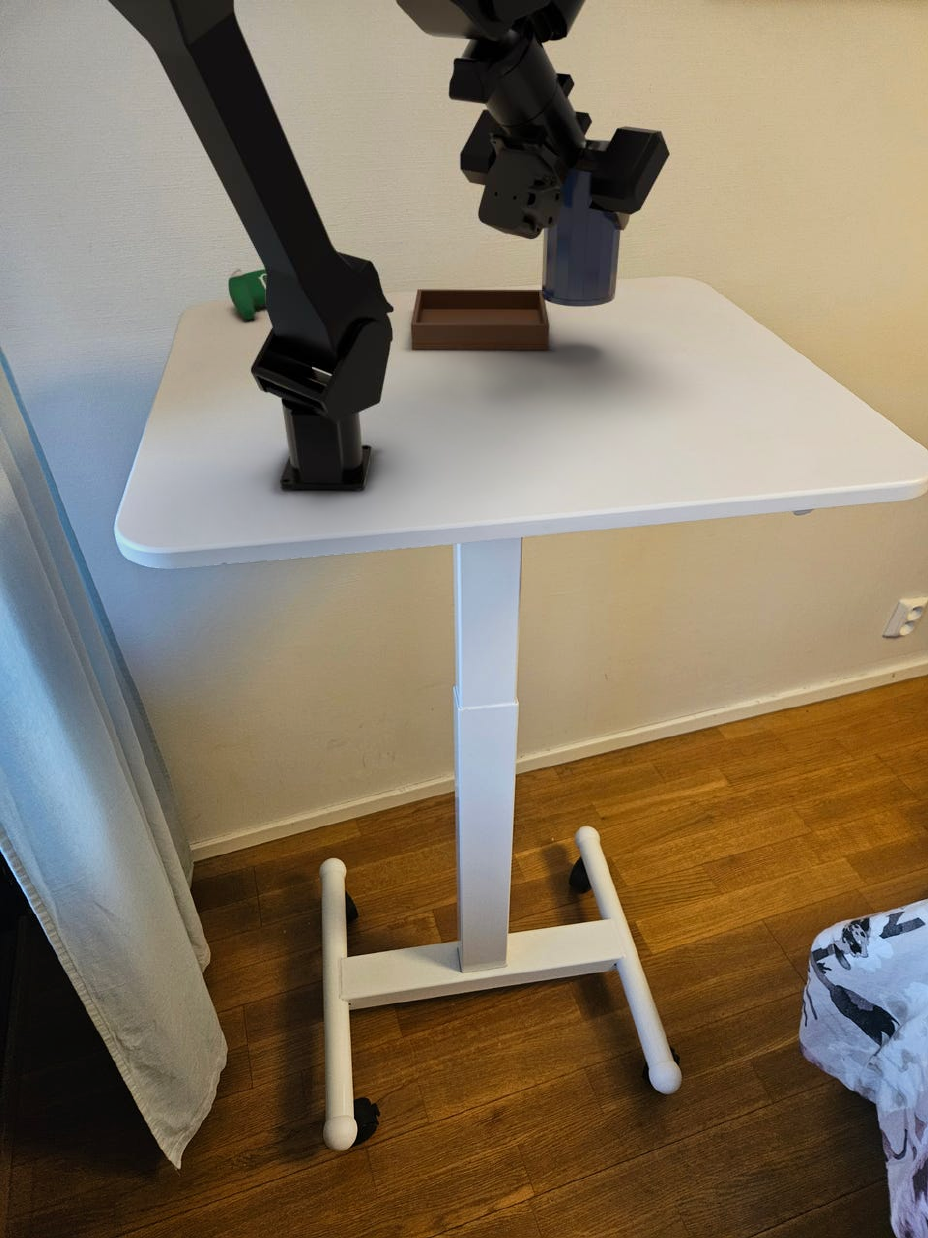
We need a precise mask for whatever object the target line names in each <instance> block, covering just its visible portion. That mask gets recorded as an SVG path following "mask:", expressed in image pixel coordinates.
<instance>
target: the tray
mask: <svg viewBox="0 0 928 1238" xmlns="http://www.w3.org/2000/svg"><path fill="white" fill-rule="evenodd" d="M413 306H414V307H413V311H412V317H411V323H410V335H411V336H410V337H411V338H410V339H411V350H446V351H447V350H450V351H451V350H452V351H453V350H457V351H459V350H462V351H463V350H464V351H465V350H470V351H472V350H473V351H548V350H549V349H548V348H549V336H550V335H549V334H550V333H549V332H550V323H549V316H548V309H547V305H546V300H545V299H544V298H543V297H542V289H447V288H446V289H443V288H442V289H436V288H435V289H433V288H432V289H431V288H430V289H428V288H420V289H419V288H418V289H417V290H416V296H415V301H414V305H413Z"/></svg>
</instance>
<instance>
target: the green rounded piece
mask: <svg viewBox="0 0 928 1238" xmlns="http://www.w3.org/2000/svg"><path fill="white" fill-rule="evenodd" d="M227 281H228V294H229V297H230V299H231V302H232V303H233V306H234V307H235V309H236V310H237V312H238V313H239V314H240V315H241V316H242V317H243V318H244V319H245V320H248V321H250V320H252V319H255V315H256V314H255V313H256V310H255V308H259V307H261V306H262V305H263V304H264V305H265V294H266V271H265V268H264V269H259V270H254V271H249V272H246V273H243V272H242V269H241V268H235V269H234V271H232V273H231V274H230V276H229V278H228V280H227Z"/></svg>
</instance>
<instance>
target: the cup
mask: <svg viewBox="0 0 928 1238" xmlns="http://www.w3.org/2000/svg"><path fill="white" fill-rule="evenodd" d="M595 140H596V141H602V142H610V141H611V140H604V139H595ZM592 175H593V173H589V172H583V171H578V170H572V169H571V170H570V171H569V176H568V178H567V180H566V182H565V184H564V186H563V187H560V186H555V187H556V188H557V189H559V190H561V191H562V193H563V203H562V206H561V209H560V213H559V216H558V219H557V223H556V225H555V226H554V227H553V228H551V229H550V228H544V229H543V242H542V243H543V245H542V269H541V270H542V272H541V273H542V274H541V276H542V277H541V290H542V297H543V298H544V299H545V302H548V303H551V304H555V305H559V306H564V307H577V308H578V307H579V308H582V307H583V308H584V307H585V308H586V307H595V306H596V307H597V306H600V305H601V306H602V305H606V304H608V303H611V302H612V301H614V299H616V293H617V292H616V291H617V282H618V271H619V258H620V248H621V237H622V235H621V234H622V230H620V229H619V228H618V227H617V226H616V225H615V224H614V222H613V221H612V219H611V218H610V216H609V215H608V213H607V212H604V211H599V210H594V209H589V206H590V204H591V202H592V200H593V199H592V197H591V195H590V188H591V177H592Z"/></svg>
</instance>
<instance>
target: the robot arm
mask: <svg viewBox="0 0 928 1238" xmlns="http://www.w3.org/2000/svg"><path fill="white" fill-rule="evenodd" d="M107 1H108V2H109V3H110V4H111V5H112V6H113V8H115V9H116V10H117V12H119V14H120V15H121V16H122V17H123V18H124V19H125V20H127V22H128V23H129V24H130V25H131V26H132V27H133V28H134V29H135V30H136V31H137V32H138V33H139V34H140V35H141V36H142V38H144V39H145V41H147V43H148V44H149V46H150V47H151V48H152V50H153V51H154V53H155V55H156V57H157V59H158V60H159V63H160V65H161V66H162V69H163V70H164V72H165V74H166V77H167V78H168V80H169V82H170V84H171V85H172V89H173V90H174V93H175V94H176V96H177V99H178V100H179V102H180V104H181V106H182V108H183V110H184V112H185V113H186V115H187V117H188V120H189V122H190V124H191V125H192V128H193V129H194V131H195V133H196V135H197V137H198V139H199V141H200V143H201V145H202V147H203V149H204V151H205V153H206V155H207V157H208V159H209V161H210V163H211V165H212V167H213V169H214V171H215V173H216V175H217V177H218V178H219V181H220V183H221V184H222V186H223V187H224V190H225V192H226V194H227V196H228V198H229V201H230V202H231V204H232V206H233V208H234V210H235V212H236V214H237V216H238V218H239V220H240V222H241V224H242V225H243V228H244V229H245V232H246V234H247V236H248V238H249V239H250V241H251V244H252V245H253V247H254V249H255V251H256V253H257V255H258V257H259V259H260V261H261V263H262V266H263V267H264V269H265V271H266V294H265V303H264V305H265V309H266V313H267V315H268V319H269V320H270V324H271V329H270V331H268V334H267V337H266V338H265V340H264V342H263V344H262V346H261V348H260V350H259V352H258V354H257V355H256V357H255V359H254V361H253V363H252V365H251V367H250V373H251V376H252V377H253V379H254V381H255V383H256V385H257V386H258V388H259V390H260V391H261V392H263V393H266V394H267V393H269V394H271V395H273V396H275V397H278V398H280V400H281V406H282V407H281V408H282V414H283V420H284V421H283V422H284V429H285V433H286V441H287V448H288V455H289V456H288V458H287V462H286V464H285V467H284V470H283V473H282V475H281V477H280V480H279V484H280V488H282V489H285V490H363V489H364V488H365V487H366V484H367V478H368V473H369V469H370V464H371V460H372V455H373V446H371V445H370V444H363V439H362V428H361V417H360V413H361V412H362V411H365V410H367V409H369V408H371V407H374V406H376V405H378V404H380V402H381V398H382V394H383V389H384V382H385V378H386V372H387V369H388V368H387V367H388V363H389V358H390V357H389V356H390V351H391V345H392V342H393V340H394V333H393V331H394V330H393V326H392V322H391V318H390V316H389V314H391V313H393V312H394V311H395V308H394V307H393V305H392V304H391V303H390V302H389V301H388V300H387V297H386V296H385V294H384V291H383V289H382V284H381V279H380V275H379V272H378V270H377V269H376V266H375V265H374V263H373V261H372V260H369V259H365V258H362V257H358V256H355V255H351V254H348V253H344V252H341V251H337V250H336V248H335V247H334V245H333V243H332V241H331V238H330V236H329V234H328V231H327V229H326V226H325V224H324V222H323V220H322V217H321V214H320V212H319V210H318V208H317V206H316V202H315V200H314V198H313V196H312V193H311V191H310V189H309V186H308V184H307V181H306V179H305V177H304V175H303V172H302V170H301V167H300V165H299V163H298V160H297V158H296V156H295V153H294V151H293V149H292V147H291V144H290V142H289V139H288V137H287V134H286V132H285V130H284V127H283V125H282V122H281V121H280V118H279V116H278V113H277V111H276V109H275V106H274V104H273V102H272V99H271V97H270V94H269V92H268V89H267V87H266V86H265V83H264V81H263V78H262V75H261V74H260V71H259V69H258V67H257V65H256V61H255V60H254V57H253V55H252V52H251V50H250V48H249V46H248V45H249V44H248V43H247V41H246V38H245V36H244V33H243V31H242V29H241V26H240V24H239V21H238V18H237V14H236V10H235V0H107ZM395 2H396V5H398V6H399V8H400V9H401V10H402V11H403V13H405V15H407V16H408V17H409V18H410V20H411V21H413V22H414V24H415V25H416V26H418V28H419V29H420V30H421V31H422V32H423V33H425V34H426V35H429V36H432V37H435V38H447V39H459V40H469V41H468V43H467V45H466V47H465V49H464V50H463V53H462V55H461V57H455V58H454V59H453V61H452V63H453V72H452V75H451V77H450V80H449V85H448V97H449V99H450V100H452V101H458V102H466V103H474V104H481V105H484V106H485V107H486V108H484V109H482V111H481V114H480V115H479V117H478V119H477V121H476V122H475V125H474V126H473V129H472V131H471V132H470V134H469V136H468V138H467V140H466V142H465V143H464V146H463V148H462V150H460V153H459V168H460V171H461V172H462V174H463V175H464V176H465V178H466V179H467V181H468V182H469V183H470V184H475V185H480V186H484V188H483V191H482V195H481V198H480V202H479V207H478V211H477V217H478V220H479V221H480V223H482V224H484V225H486V226H488V227H490V228H492V229H494V230H496V231H498V232H500V233H503V234H505V235H511V236H515V237H520V238H523V239H527V240H535V239H537V238H538V237H539V236H540V235H541V234H542V232H543V231H544V228H550V229H551V228H553V227H554V226H555V225H556V223H557V219H558V216H559V213H560V209H561V206H562V203H563V193H562V191H561V190H559V189H557V188H556V187H555V186H560V187H563V186H564V184H565V182H566V180H567V178H568V176H569V171H570V170H571V169H572V170H578V171H583V172H589V173H593V175H592V177H591V188H590V195H591V197H592V199H593V200H592V202H591V204H590V206H589V209H594V210H599V211H604V212H607V213H608V215H609V216H610V218H611V219H612V221H613V222H614V224H615V225H616V226H617V227H618V228H619V229H620V230H621V231H625V230H626V228H627V227H628V224H629V221H630V217H631V216H632V215H633V214H636V213H637V212H640V211H641V209H642V207H643V206H644V204H645V202H646V200H647V198H648V196H649V194H650V192H651V191H652V188H653V187H654V185H655V183H656V181H657V179H658V178H659V176H660V174H661V172H662V169H663V168H664V166H665V164H666V162H667V160H668V159H669V157H670V154H671V153H670V150H669V148H668V144H667V143H666V139H665V137H664V134H663V132H662V130H655V129H650V128H649V129H648V128H641V127H635V126H628V125H627V126H626V125H625V126H621V127H617V128H616V130H615V131H614V133H613V135H612V137H611V139H610V140H609V141H610V142H602V141H596V140H597V139H589V138H586V135H587V133H588V131H589V129H590V127H591V125H592V124H593V120H592V117H591V116H590V114H589V112H583V111H576V110H575V109H574V107H573V105H572V102H571V100H570V98H569V96H570V94H571V92H572V90H573V88H574V86H575V82H574V80H573V77H572V75H571V74H570V73H563V72H556V69H555V68H554V66H553V64H552V62H551V60H550V58H549V55H548V53H547V51H546V49H545V47H544V45H543V44H545V43H548V42H555V41H556V42H557V41H561V40H563V39H566V38H568V35H569V34H570V31H571V30H572V28H573V26H574V24H575V22H576V20H577V18H578V16H579V15H580V13H581V11H582V8H583V7H584V5H585V4H586V2H587V0H395Z"/></svg>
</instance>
